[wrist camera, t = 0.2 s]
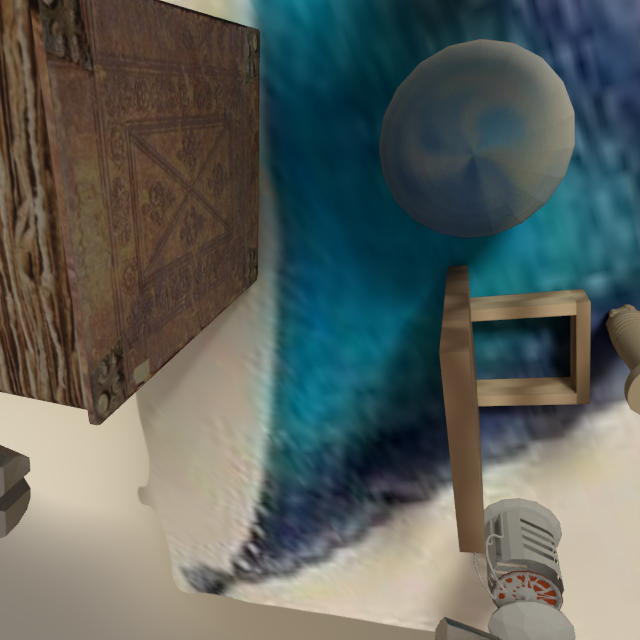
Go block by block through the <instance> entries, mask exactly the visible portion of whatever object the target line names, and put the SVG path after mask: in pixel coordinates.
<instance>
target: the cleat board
mask: <svg viewBox="0 0 640 640" xmlns="http://www.w3.org/2000/svg"><path fill="white" fill-rule="evenodd" d="M566 315H570V374H571V377H551V378H522V379H493V380H477V378H476V365H475V352H474V339H473V326H472V322H473V321H488V320H504V319H519V318H535V317H550V316H566ZM590 316H591V302H590V300H589V298H588V297H587V295H586V293H585V291H584V290H583V289H579V290H566V291H553V292H540V293H527V294H514V295H501V296H488V297H475V298H470V288H469V275H468V265H465V266H454V267H448V268H447V278H446V289H445V299H444V309H443V320H442V330H441V340H440V351H439V355H440V365H441V375H442V384H443V394H444V404H445V413H446V423H447V432H448V442H449V452H450V461H451V471H452V481H453V490H454V500H455V510H456V519H457V529H458V539H459V548H460V552H471V553H486V552H485V529H484V507H483V484H482V461H481V439H480V416H479V406H514V405H562V404H590Z"/></svg>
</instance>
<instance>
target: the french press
mask: <svg viewBox="0 0 640 640" xmlns="http://www.w3.org/2000/svg"><path fill="white" fill-rule="evenodd" d="M484 529H485V550H486V558H487V576H488V585H489V588H490V591H491V593H490V591H489V590H488V589H487V587H486V585H485V583H484V581H483V579H482V577H481V575H480V572H479V569H478V566H477V562H476V553H474V563H475V568H476V571H477V573H478V576H479V578H480V580H481V582H482V584H483V586H484V588H485V590H486V591H487V593H488V594H489V595H490V597H491V598H492V599H493V602H494V604H495V605H496V606H497V607H498V609H497V610H496V611H495V612H494V613H493V614H492V616H491V619H490V621H489V624H488V628H489V632H490V634H492V635H494V636H497V637H499V638H500V639H503V640H575V632H574V627H573V625H572V624H571V622H570V621H569V620H568V619H567V617H566V616H565V615H564V614H563V613H562V612H561V611H560V608H561V606H562V603H563V598H562V593H563V591H564V588H563V582H562V577H561V572H560V567H559V562H558V564H557V560H558V557H557V556H556V555H555V553H557V552H556V547H557V546H558V544H559V541H560V538H561V536H562V532H561V527H560V522H559V521H558V519H557V518H556V517H555V516H554V514H553V513H552V512H551V511H550V510H549V509H547V508H545V507H544V506H542V505H540V504H539V503H537V502H533V501H529V500H524V499H520V498H519V499H505V500H501V501H499V502H496V503H494V504H491V505H489V506H488V507H487V508H486V509H485V510H484ZM553 550H554V552H553ZM554 558H555V561H554ZM497 562H503V563H514V564H524V565H528V568H518V567H506V566H498V565H497ZM494 568H495V569H496V570H501V571H511V572H510V573H507V574H504V575H502V574H497V573H496V572H494V570H493V569H494ZM490 573H491V574H492V575H494V577H495V579H496V581H495V580H494V579H493V578H492V577H491V575H490ZM558 575H559V580H558V577H557V576H558ZM489 577H490V579H491V582H492V583H493V587H492V586H491V583H490V580H489Z"/></svg>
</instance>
